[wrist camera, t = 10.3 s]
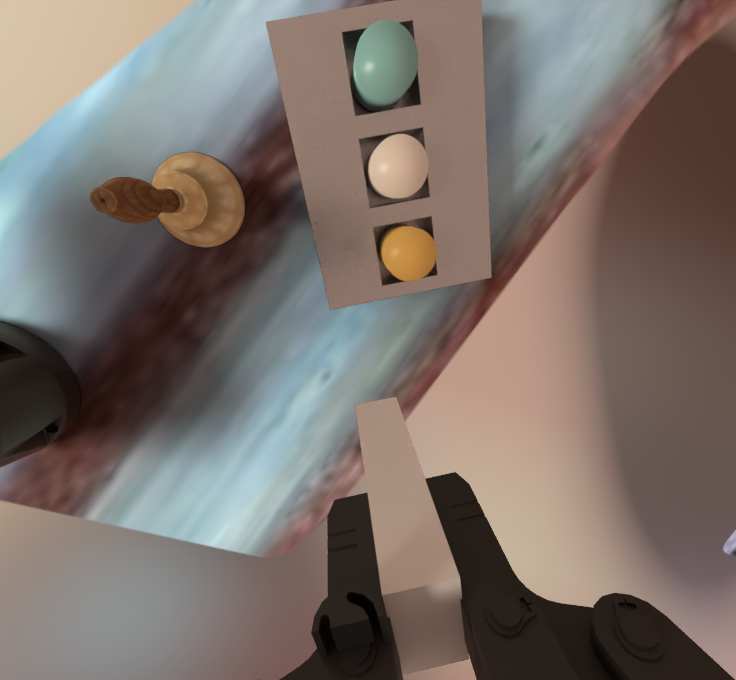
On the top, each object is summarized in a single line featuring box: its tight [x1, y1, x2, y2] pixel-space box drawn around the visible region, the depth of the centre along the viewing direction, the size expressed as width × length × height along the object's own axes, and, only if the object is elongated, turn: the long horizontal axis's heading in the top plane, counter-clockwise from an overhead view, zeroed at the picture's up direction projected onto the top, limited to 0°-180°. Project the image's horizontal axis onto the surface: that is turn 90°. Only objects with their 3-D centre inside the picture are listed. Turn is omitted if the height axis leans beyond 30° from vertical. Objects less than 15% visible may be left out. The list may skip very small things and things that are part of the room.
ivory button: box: [366, 134, 429, 198], centre depth 30 cm, size 5×5×4 cm
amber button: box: [378, 224, 437, 281], centre depth 33 cm, size 5×5×4 cm
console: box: [266, 0, 492, 310], centre depth 32 cm, size 16×22×4 cm
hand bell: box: [90, 152, 245, 247], centre depth 26 cm, size 8×8×16 cm
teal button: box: [351, 20, 418, 112], centre depth 27 cm, size 5×5×4 cm
